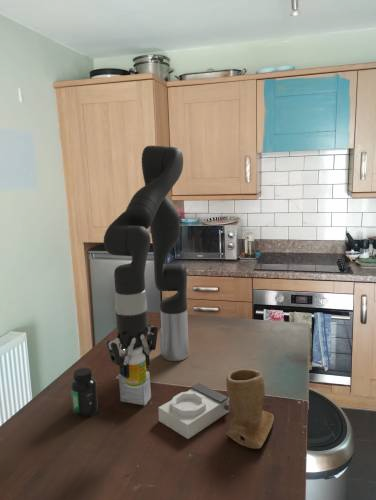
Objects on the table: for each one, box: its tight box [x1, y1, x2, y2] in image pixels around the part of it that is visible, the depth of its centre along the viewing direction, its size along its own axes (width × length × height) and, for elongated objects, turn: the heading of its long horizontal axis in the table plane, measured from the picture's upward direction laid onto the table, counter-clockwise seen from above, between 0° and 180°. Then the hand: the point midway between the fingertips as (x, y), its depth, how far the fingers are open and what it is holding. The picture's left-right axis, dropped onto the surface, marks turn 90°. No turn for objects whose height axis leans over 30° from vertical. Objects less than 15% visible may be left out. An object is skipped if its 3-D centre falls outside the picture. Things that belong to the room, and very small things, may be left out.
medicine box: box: [118, 370, 152, 406], centre depth 123 cm, size 8×4×9 cm, turn 71°
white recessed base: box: [157, 382, 231, 440], centre depth 114 cm, size 16×12×6 cm
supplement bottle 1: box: [70, 367, 99, 418], centre depth 118 cm, size 7×7×12 cm
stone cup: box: [225, 368, 275, 450], centre depth 107 cm, size 15×12×15 cm
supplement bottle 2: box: [125, 346, 147, 388], centre depth 105 cm, size 5×5×10 cm
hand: (135, 372), depth 105 cm, fingers closed on supplement bottle 2, 5 cm apart
